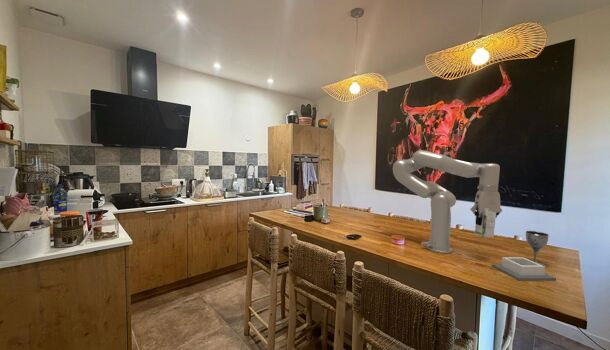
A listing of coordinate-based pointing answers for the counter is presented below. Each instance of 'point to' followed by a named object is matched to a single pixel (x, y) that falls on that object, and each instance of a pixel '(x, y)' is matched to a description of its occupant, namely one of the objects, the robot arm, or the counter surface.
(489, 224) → the syrup box
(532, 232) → the wine glass
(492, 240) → the counter surface
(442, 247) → the robot arm
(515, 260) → the dock
